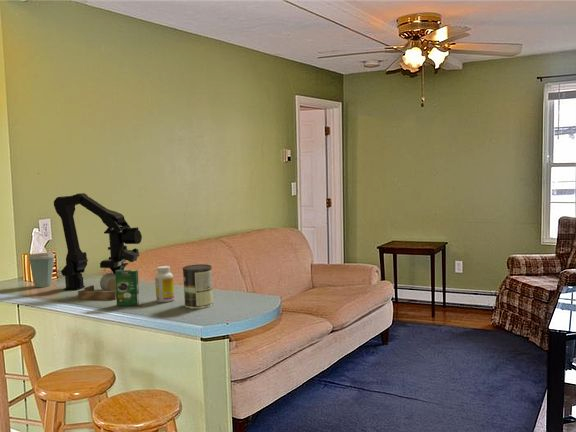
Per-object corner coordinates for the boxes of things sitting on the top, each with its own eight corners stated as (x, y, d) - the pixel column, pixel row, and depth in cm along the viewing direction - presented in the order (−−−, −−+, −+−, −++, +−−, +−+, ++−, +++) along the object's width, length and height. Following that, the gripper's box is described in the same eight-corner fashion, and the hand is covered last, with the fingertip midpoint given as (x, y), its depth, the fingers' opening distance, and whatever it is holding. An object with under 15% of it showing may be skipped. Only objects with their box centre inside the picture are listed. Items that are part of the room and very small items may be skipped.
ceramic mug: (108, 295, 231) (107, 276, 230) (100, 292, 237) (99, 274, 236) (133, 291, 238) (132, 273, 237) (124, 289, 244) (123, 270, 243)
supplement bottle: (177, 299, 221) (176, 265, 220) (168, 303, 215) (166, 268, 214) (162, 298, 223) (160, 265, 222) (153, 302, 217) (151, 268, 216)
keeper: (75, 298, 228) (75, 291, 228) (91, 292, 239) (91, 285, 239) (117, 299, 224) (117, 292, 223) (132, 293, 234) (132, 285, 234)
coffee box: (140, 304, 215) (138, 268, 214) (138, 305, 212) (135, 270, 211) (119, 304, 216) (116, 269, 214) (116, 306, 213) (114, 271, 212)
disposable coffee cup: (30, 285, 259) (27, 252, 258) (56, 282, 264) (53, 249, 263) (30, 289, 250) (28, 255, 249) (57, 286, 254) (55, 252, 253)
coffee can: (181, 309, 204) (179, 269, 203) (187, 302, 215) (185, 264, 213) (211, 308, 204) (209, 268, 203) (215, 301, 214) (213, 263, 213)
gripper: (123, 247, 230) (125, 286, 231) (145, 240, 248) (147, 276, 249) (97, 247, 233) (100, 286, 234) (121, 240, 251) (124, 276, 252)
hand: (119, 281), depth 242 cm, fingers closed
